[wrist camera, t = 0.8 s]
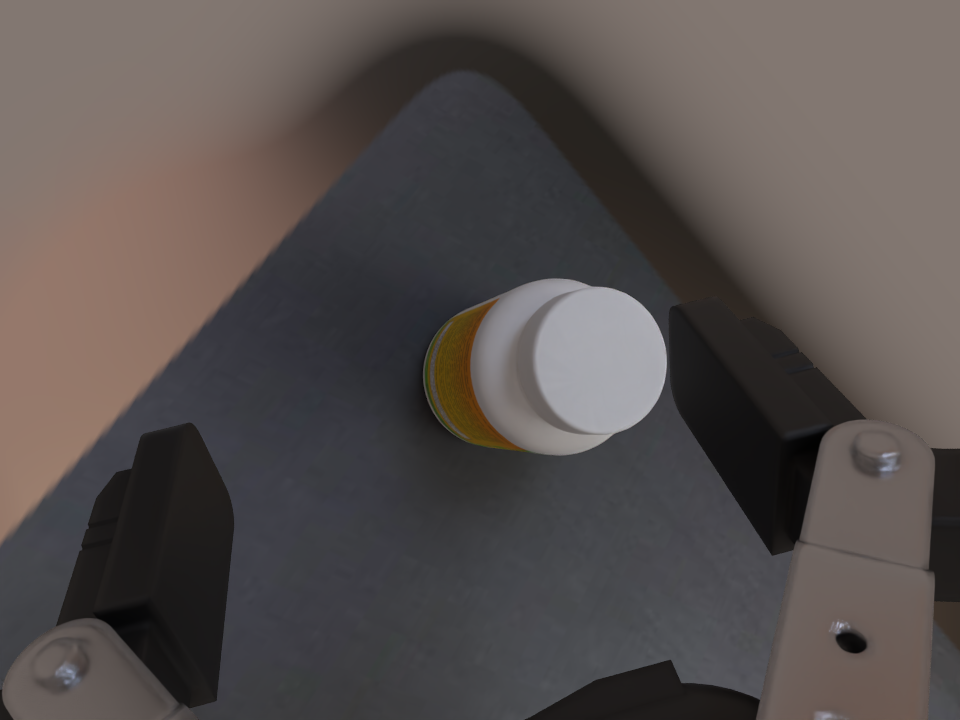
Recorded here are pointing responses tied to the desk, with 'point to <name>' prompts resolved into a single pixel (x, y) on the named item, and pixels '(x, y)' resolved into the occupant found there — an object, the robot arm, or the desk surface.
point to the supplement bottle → (546, 368)
